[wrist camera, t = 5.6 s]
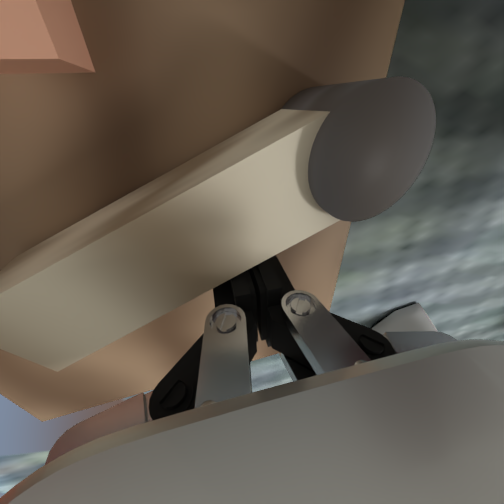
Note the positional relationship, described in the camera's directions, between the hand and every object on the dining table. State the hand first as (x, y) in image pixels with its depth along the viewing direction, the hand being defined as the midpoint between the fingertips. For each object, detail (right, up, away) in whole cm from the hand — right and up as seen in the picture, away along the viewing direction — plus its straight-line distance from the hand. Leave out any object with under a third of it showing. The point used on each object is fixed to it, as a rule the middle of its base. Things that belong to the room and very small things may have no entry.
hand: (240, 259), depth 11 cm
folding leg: (-2, +2, -2) cm, 4 cm away
